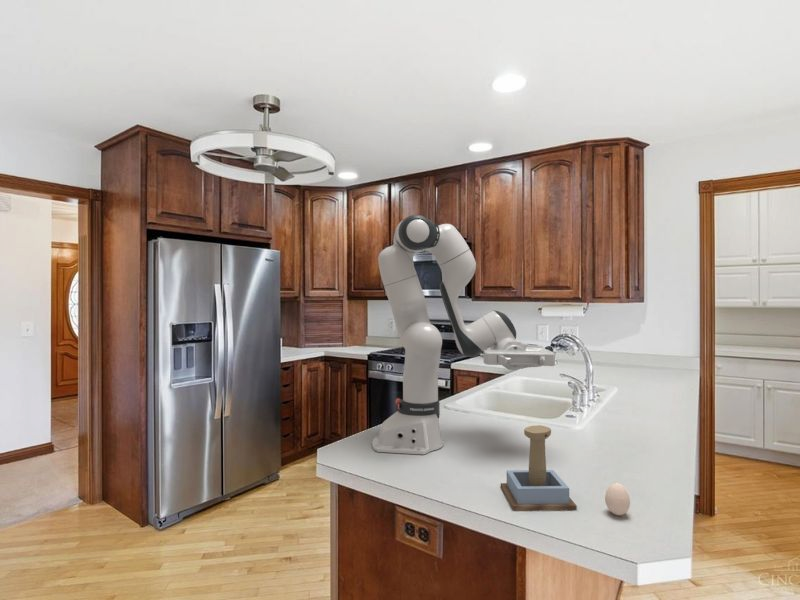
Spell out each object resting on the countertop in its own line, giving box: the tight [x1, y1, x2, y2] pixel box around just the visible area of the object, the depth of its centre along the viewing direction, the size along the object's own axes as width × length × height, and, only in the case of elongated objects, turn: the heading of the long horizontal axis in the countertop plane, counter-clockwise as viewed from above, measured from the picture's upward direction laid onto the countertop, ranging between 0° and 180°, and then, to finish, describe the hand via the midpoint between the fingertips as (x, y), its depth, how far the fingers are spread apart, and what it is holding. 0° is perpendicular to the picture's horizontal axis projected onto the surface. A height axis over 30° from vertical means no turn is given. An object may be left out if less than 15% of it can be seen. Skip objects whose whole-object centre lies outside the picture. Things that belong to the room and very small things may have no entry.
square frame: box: [506, 469, 570, 504], centre depth 105 cm, size 11×10×4 cm
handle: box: [523, 424, 552, 486], centre depth 105 cm, size 5×6×15 cm
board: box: [500, 482, 578, 512], centre depth 105 cm, size 14×12×1 cm
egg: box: [604, 482, 631, 516], centre depth 97 cm, size 5×5×7 cm
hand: (525, 361), depth 123 cm, fingers open, 8 cm apart
